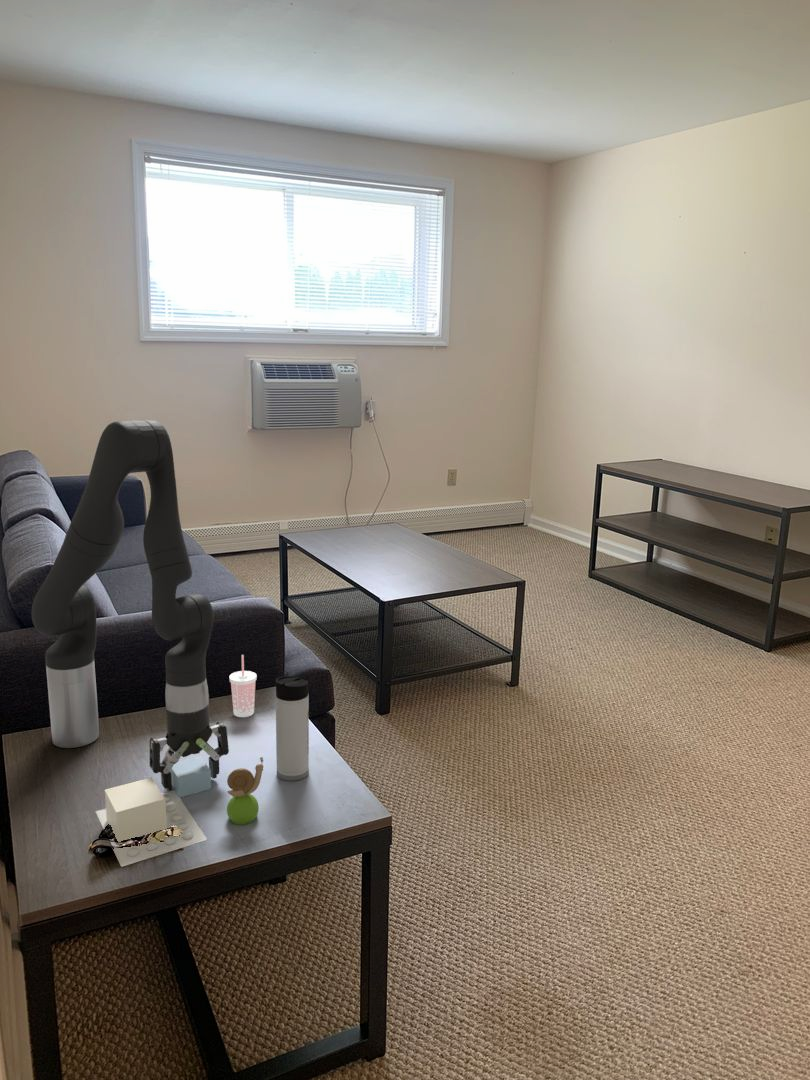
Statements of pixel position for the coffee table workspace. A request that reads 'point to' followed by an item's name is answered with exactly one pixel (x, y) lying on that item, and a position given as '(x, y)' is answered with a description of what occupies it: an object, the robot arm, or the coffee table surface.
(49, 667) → the robot arm
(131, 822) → the base brick
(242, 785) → the snail figurine
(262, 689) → the coffee table surface
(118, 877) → the coffee table surface
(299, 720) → the travel mug
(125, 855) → the build plate
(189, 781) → the blue brick
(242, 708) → the beverage cup
